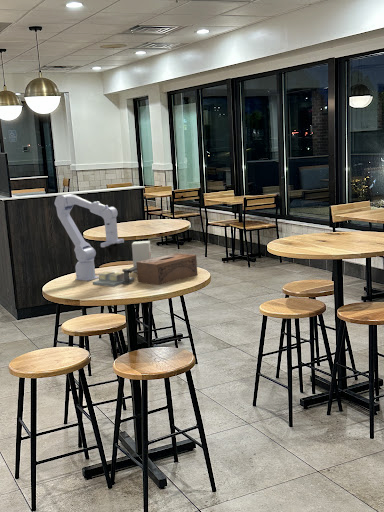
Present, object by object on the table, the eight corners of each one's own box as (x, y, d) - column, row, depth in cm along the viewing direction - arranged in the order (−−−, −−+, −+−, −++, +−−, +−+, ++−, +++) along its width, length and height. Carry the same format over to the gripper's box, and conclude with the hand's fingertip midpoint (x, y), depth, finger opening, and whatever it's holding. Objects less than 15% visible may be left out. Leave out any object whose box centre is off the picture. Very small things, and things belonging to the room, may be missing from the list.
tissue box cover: (177, 272, 322) (175, 253, 320) (197, 275, 311) (196, 255, 310) (138, 282, 304) (136, 261, 302) (158, 285, 294) (156, 264, 292)
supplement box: (151, 271, 328) (148, 242, 325) (133, 272, 328) (131, 244, 326) (152, 268, 337) (150, 240, 334) (135, 269, 337) (133, 241, 335)
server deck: (92, 284, 306) (91, 272, 305) (112, 278, 317) (111, 267, 316) (120, 287, 295) (119, 275, 294) (140, 280, 306) (139, 269, 305)
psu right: (109, 281, 304) (108, 274, 304) (118, 278, 309) (117, 272, 309) (117, 281, 301) (116, 275, 301) (125, 279, 306) (125, 272, 306)
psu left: (98, 280, 309) (98, 273, 308) (107, 277, 313) (107, 271, 313) (106, 281, 306) (105, 274, 305) (115, 278, 311) (114, 271, 310)
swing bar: (137, 266, 317) (137, 263, 316) (144, 266, 315) (144, 263, 315) (121, 274, 300) (120, 270, 300) (128, 274, 299) (127, 270, 299)
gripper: (107, 234, 303) (109, 262, 305) (127, 230, 314) (129, 257, 316) (96, 234, 307) (99, 261, 309) (117, 229, 318) (119, 256, 320)
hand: (114, 259), depth 313 cm, fingers closed
